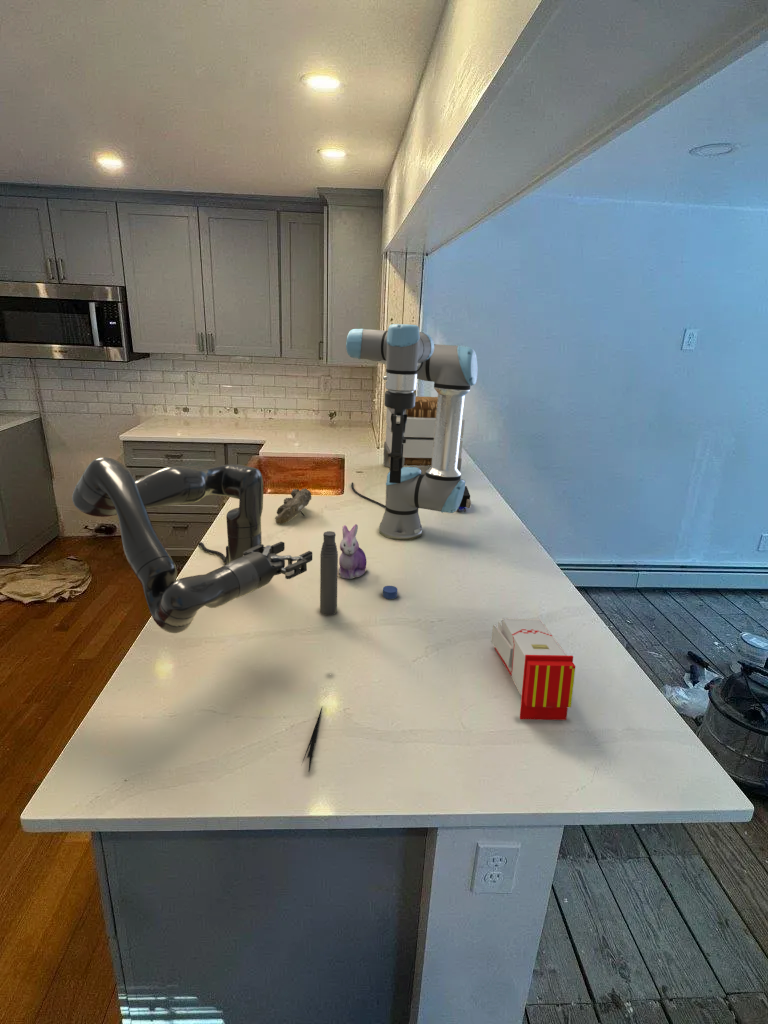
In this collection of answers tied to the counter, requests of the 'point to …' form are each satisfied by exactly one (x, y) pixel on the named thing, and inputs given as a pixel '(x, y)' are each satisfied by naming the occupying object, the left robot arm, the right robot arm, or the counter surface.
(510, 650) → the toy
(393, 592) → the cap
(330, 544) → the bottle
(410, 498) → the right robot arm
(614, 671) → the counter surface
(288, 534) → the counter surface
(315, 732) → the feather
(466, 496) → the figurine character
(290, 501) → the fossil
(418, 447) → the white wooden crate
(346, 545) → the figurine
